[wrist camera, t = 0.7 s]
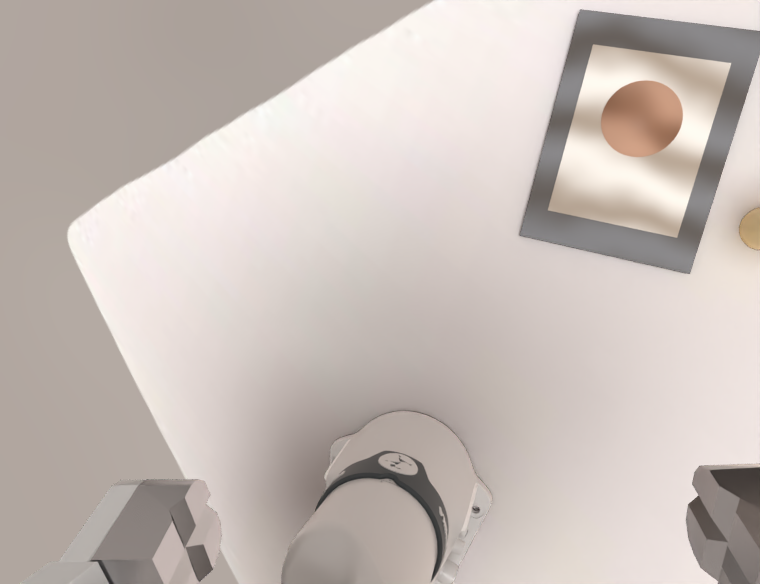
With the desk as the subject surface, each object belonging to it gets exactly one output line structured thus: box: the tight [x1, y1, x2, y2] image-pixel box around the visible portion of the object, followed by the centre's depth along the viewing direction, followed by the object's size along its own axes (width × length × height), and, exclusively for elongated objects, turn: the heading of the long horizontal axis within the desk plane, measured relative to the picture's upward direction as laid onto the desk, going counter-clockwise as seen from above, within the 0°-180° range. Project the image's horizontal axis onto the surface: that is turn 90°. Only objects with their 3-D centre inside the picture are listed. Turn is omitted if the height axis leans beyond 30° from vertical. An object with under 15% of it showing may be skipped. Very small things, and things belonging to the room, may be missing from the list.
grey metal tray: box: [520, 9, 760, 274], centre depth 50 cm, size 22×16×1 cm
